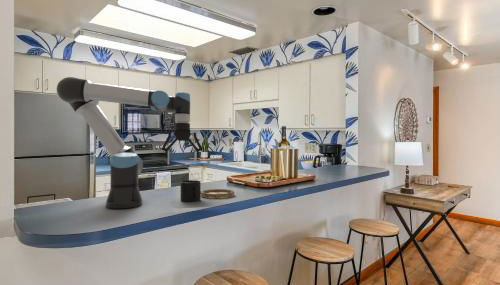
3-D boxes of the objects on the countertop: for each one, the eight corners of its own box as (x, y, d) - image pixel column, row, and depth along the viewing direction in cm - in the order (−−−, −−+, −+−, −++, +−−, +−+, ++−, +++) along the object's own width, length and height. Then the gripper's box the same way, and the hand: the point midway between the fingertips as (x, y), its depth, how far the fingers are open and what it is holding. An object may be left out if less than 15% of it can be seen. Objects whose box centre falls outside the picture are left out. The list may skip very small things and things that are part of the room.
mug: (186, 203, 139) (186, 183, 139) (177, 199, 149) (177, 181, 149) (205, 201, 144) (206, 182, 144) (196, 197, 154) (196, 179, 154)
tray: (203, 199, 150) (203, 194, 150) (199, 193, 166) (199, 189, 166) (237, 197, 155) (237, 193, 155) (230, 192, 171) (230, 188, 171)
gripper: (156, 121, 151) (156, 164, 151) (207, 122, 158) (207, 164, 157) (157, 122, 158) (156, 163, 158) (205, 123, 165) (205, 163, 165)
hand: (182, 164), depth 158 cm, fingers open, 13 cm apart
